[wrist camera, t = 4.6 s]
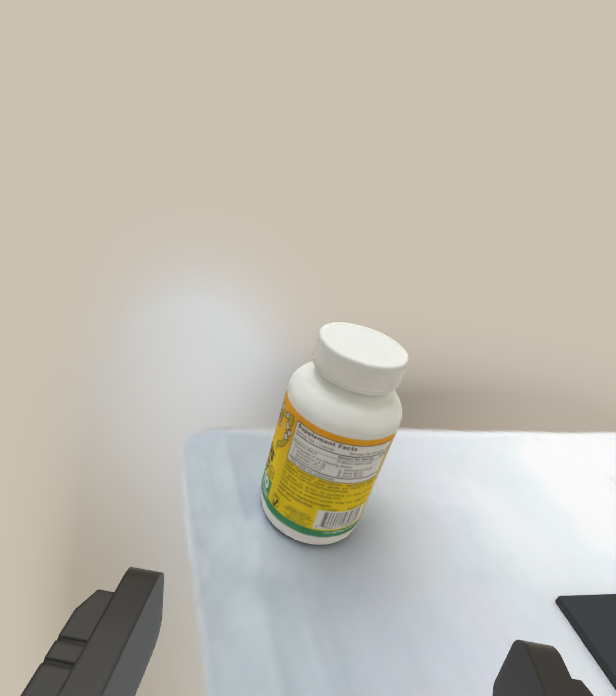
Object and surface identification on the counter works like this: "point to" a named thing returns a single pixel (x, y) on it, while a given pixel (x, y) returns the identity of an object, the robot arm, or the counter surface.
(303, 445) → the supplement bottle
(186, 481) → the counter surface
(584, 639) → the mat
